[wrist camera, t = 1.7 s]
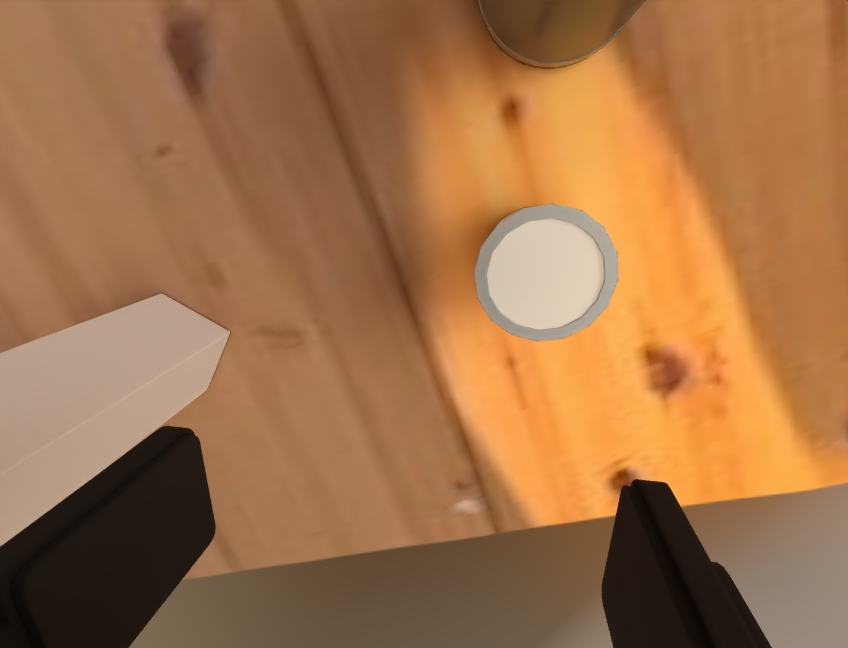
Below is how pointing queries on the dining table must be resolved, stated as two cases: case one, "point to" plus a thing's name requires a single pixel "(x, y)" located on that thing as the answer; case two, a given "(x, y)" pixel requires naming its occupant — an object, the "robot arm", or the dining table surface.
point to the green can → (554, 28)
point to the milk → (94, 398)
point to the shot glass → (546, 272)
